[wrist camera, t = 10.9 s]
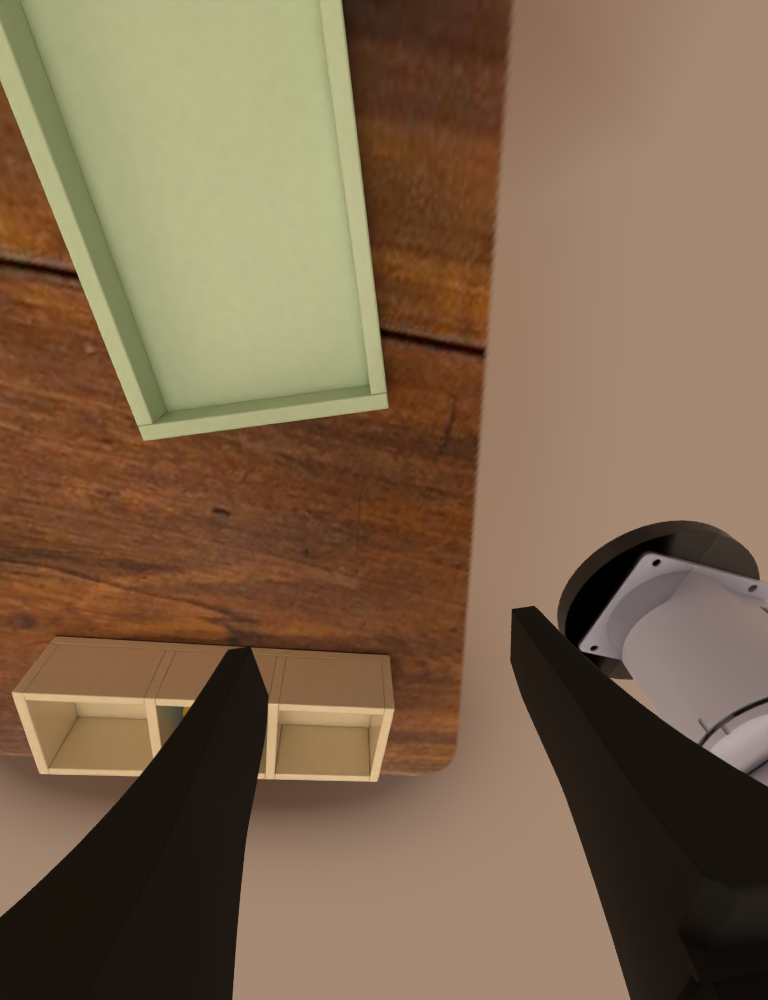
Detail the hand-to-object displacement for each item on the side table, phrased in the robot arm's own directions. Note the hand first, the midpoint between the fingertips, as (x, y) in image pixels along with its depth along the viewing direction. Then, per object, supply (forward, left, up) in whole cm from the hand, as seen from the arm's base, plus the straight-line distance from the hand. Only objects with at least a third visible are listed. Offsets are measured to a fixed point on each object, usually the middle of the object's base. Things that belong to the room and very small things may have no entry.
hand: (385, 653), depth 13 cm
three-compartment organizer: (+4, +14, -9) cm, 17 cm away
